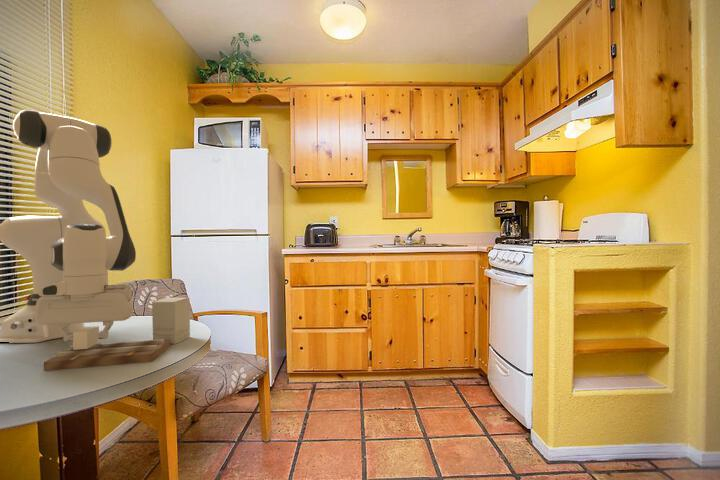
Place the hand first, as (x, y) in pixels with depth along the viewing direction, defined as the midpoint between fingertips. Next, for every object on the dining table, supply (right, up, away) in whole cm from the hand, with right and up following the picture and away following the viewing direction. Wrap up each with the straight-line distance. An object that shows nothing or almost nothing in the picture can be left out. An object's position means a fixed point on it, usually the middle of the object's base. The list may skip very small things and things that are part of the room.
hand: (86, 339), depth 82 cm
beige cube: (0, -3, 0) cm, 3 cm away
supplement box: (+13, -5, +15) cm, 21 cm away
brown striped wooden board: (+6, -5, +1) cm, 8 cm away
